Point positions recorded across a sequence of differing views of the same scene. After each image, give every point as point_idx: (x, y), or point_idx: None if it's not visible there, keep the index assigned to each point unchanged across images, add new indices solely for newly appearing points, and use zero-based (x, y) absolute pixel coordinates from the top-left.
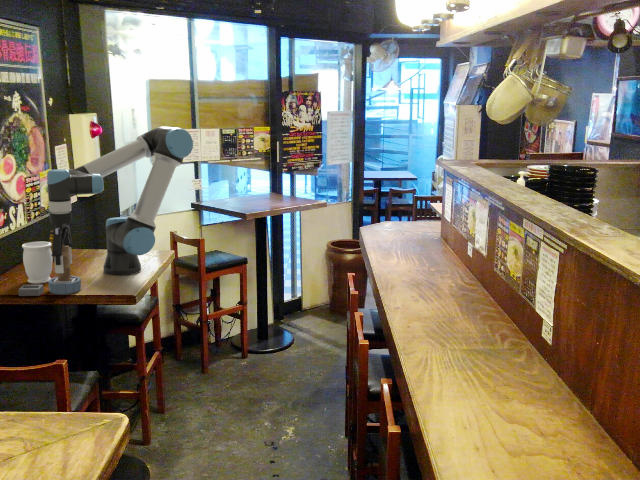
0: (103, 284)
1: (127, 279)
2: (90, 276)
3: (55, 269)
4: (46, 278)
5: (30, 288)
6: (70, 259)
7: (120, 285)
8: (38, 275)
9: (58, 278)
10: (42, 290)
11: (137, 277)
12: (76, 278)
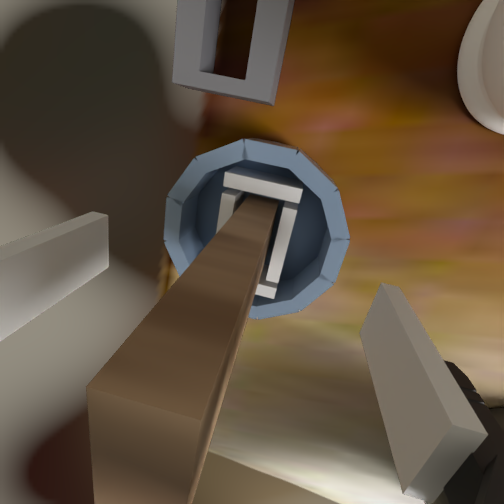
0: (305, 372)
1: (348, 450)
2: (479, 345)
3: (68, 223)
4: (493, 107)
5: (193, 16)
6: (370, 354)
7: (271, 417)
8: (486, 38)
9: (238, 209)
10: (248, 100)
11: (363, 480)
12: (281, 299)
